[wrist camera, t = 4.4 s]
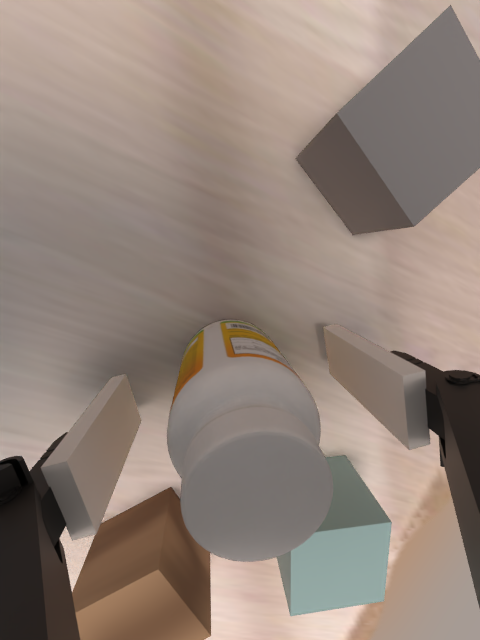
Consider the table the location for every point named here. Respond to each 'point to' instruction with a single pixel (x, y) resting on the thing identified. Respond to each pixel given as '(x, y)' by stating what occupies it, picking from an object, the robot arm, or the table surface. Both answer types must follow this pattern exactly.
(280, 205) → the table surface
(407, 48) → the charcoal cube
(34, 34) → the table surface
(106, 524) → the walnut cube
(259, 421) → the supplement bottle
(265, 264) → the table surface
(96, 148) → the table surface
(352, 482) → the teal cube
